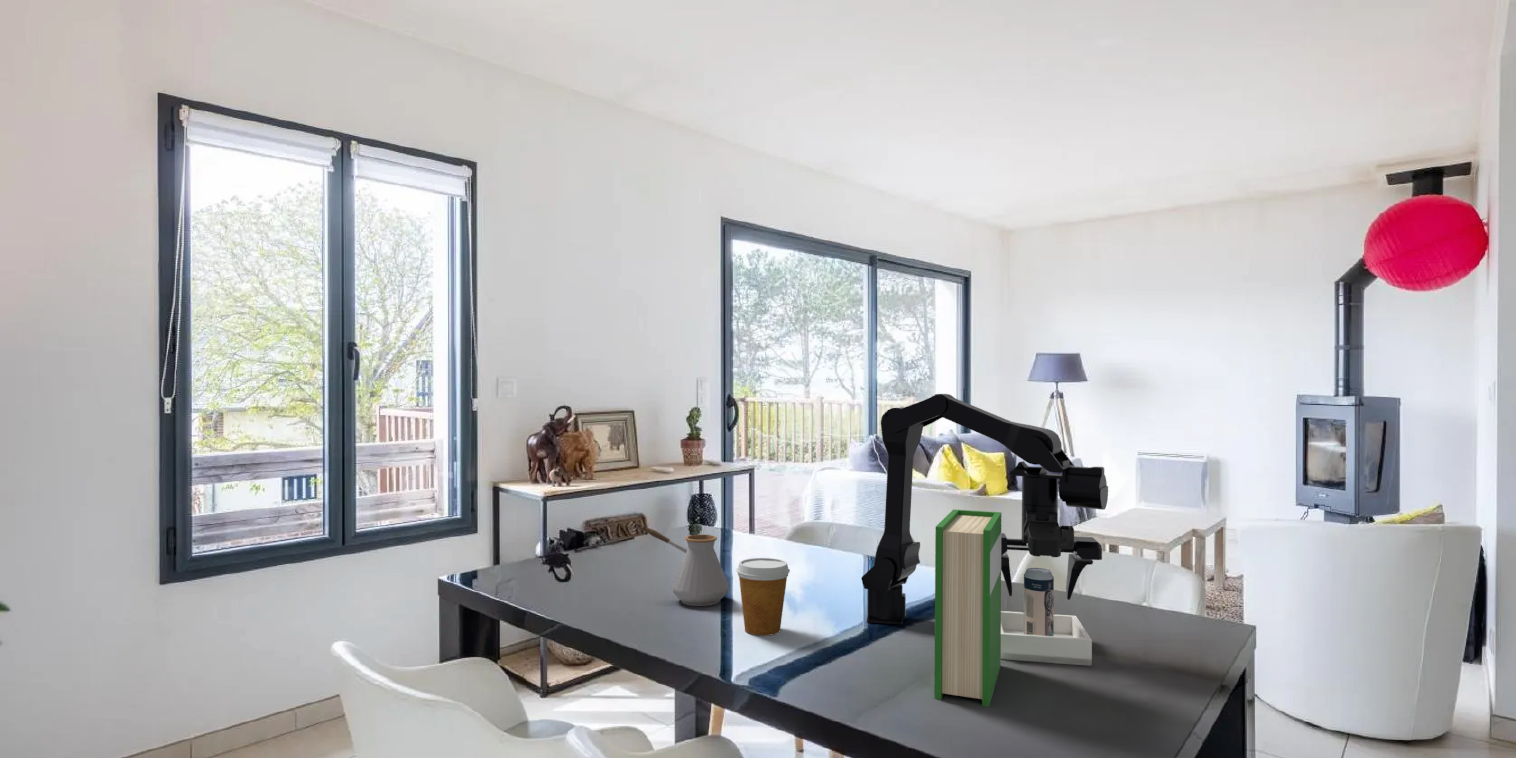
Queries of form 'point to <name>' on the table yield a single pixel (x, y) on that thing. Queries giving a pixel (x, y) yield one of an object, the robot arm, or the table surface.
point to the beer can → (1038, 602)
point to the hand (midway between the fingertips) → (1039, 597)
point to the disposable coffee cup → (762, 593)
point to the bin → (1045, 641)
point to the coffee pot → (696, 570)
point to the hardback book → (968, 604)
